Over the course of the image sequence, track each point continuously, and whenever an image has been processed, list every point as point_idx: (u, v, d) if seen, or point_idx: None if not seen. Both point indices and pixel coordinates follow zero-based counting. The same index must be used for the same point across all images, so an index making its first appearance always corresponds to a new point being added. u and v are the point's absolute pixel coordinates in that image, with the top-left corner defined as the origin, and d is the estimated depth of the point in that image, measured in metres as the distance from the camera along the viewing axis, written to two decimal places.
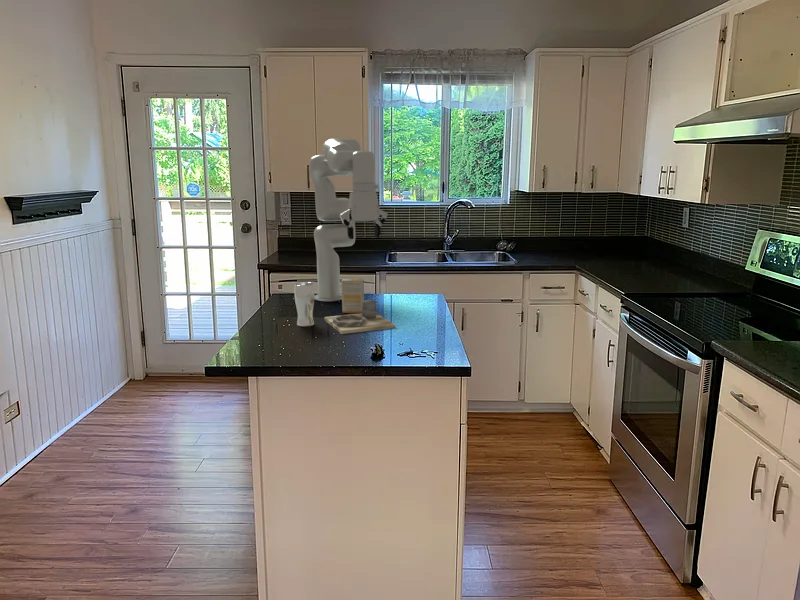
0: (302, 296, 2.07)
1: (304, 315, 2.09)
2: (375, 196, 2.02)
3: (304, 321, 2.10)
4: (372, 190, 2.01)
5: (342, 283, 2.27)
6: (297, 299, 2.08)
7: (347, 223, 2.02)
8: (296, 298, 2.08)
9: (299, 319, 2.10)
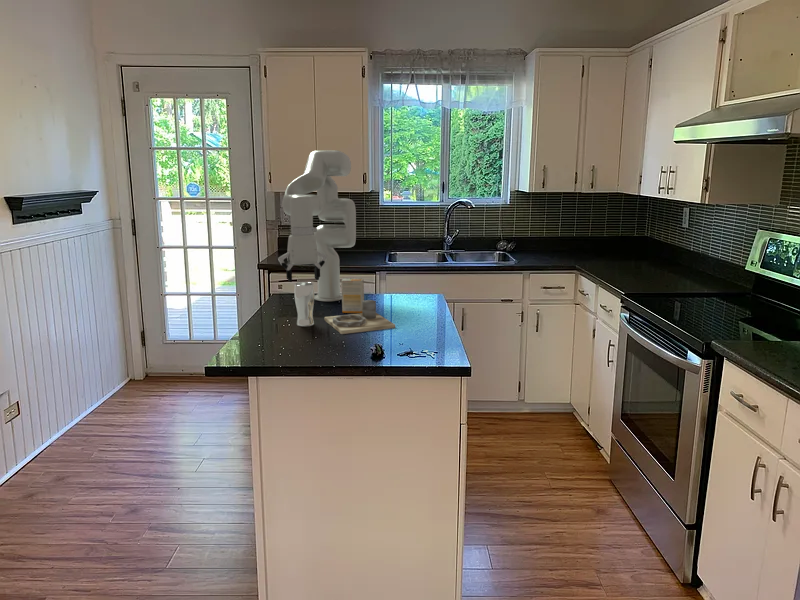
0: (302, 296, 2.07)
1: (304, 315, 2.09)
2: (313, 239, 2.05)
3: (304, 321, 2.10)
4: (310, 234, 2.03)
5: (342, 283, 2.27)
6: (297, 299, 2.08)
7: (285, 266, 2.04)
8: (296, 298, 2.08)
9: (299, 319, 2.10)
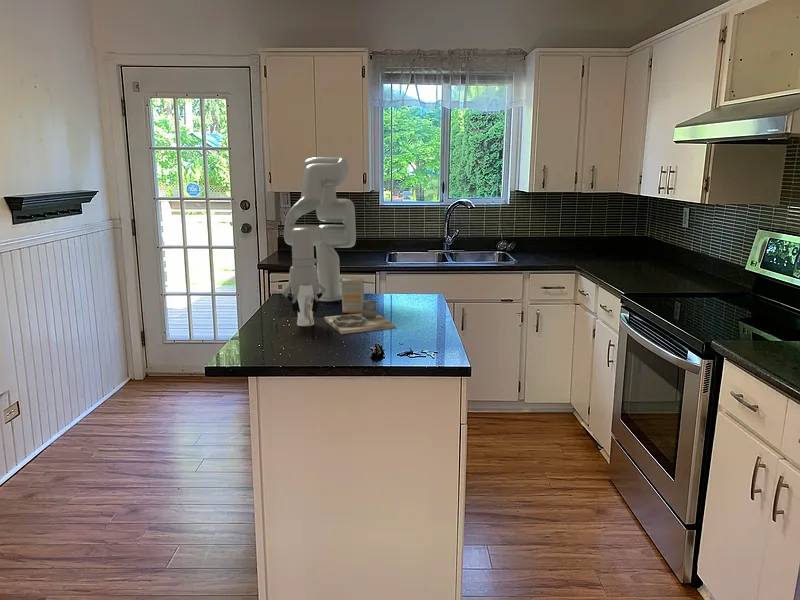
0: (302, 296, 2.07)
1: (304, 315, 2.09)
2: (314, 270, 2.08)
3: (304, 321, 2.10)
4: (311, 265, 2.06)
5: (342, 283, 2.27)
6: (297, 299, 2.08)
7: (291, 299, 2.08)
8: None
9: (299, 319, 2.10)
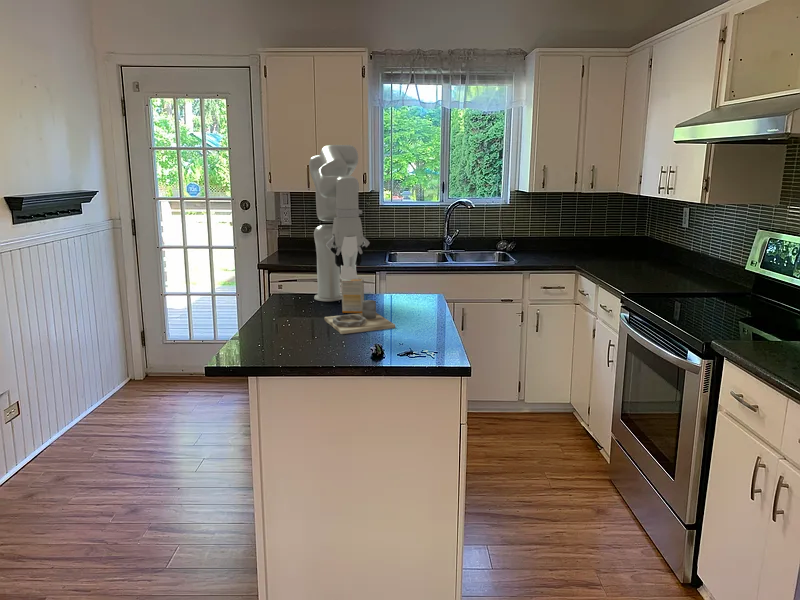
0: (346, 248, 2.01)
1: (347, 268, 2.04)
2: (359, 222, 2.02)
3: (348, 274, 2.04)
4: (356, 216, 2.00)
5: (342, 283, 2.27)
6: (341, 251, 2.02)
7: (334, 251, 2.02)
8: None
9: (343, 272, 2.05)
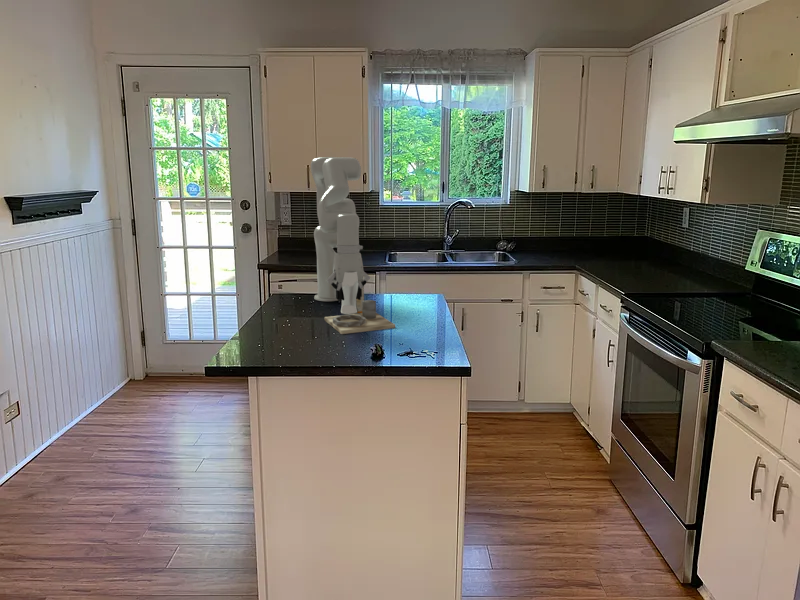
0: (347, 283, 2.04)
1: (348, 302, 2.06)
2: (359, 257, 2.05)
3: (348, 309, 2.07)
4: (356, 252, 2.03)
5: None
6: (342, 286, 2.05)
7: (335, 286, 2.05)
8: (341, 285, 2.05)
9: (343, 307, 2.07)
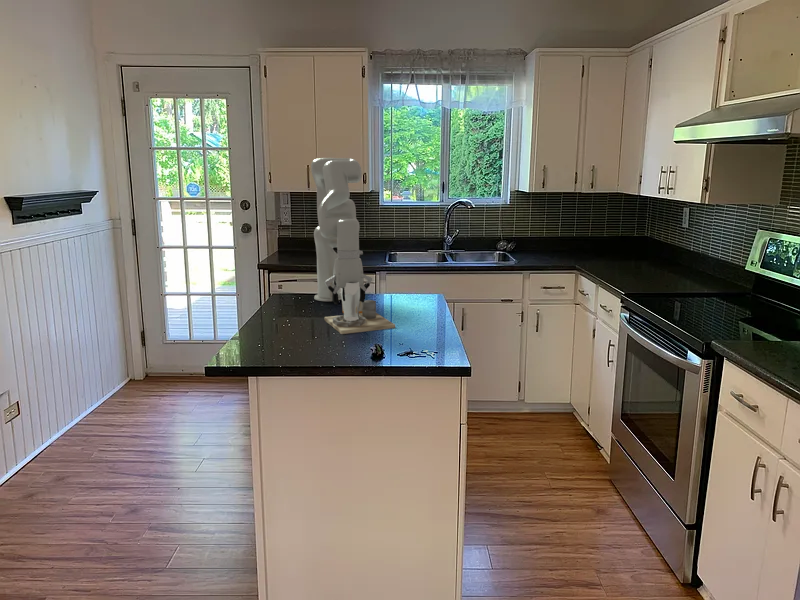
0: (349, 294, 2.05)
1: (350, 313, 2.07)
2: (359, 262, 2.05)
3: (351, 319, 2.08)
4: (356, 257, 2.03)
5: None
6: (344, 297, 2.06)
7: (332, 289, 2.05)
8: (343, 296, 2.06)
9: (345, 317, 2.08)
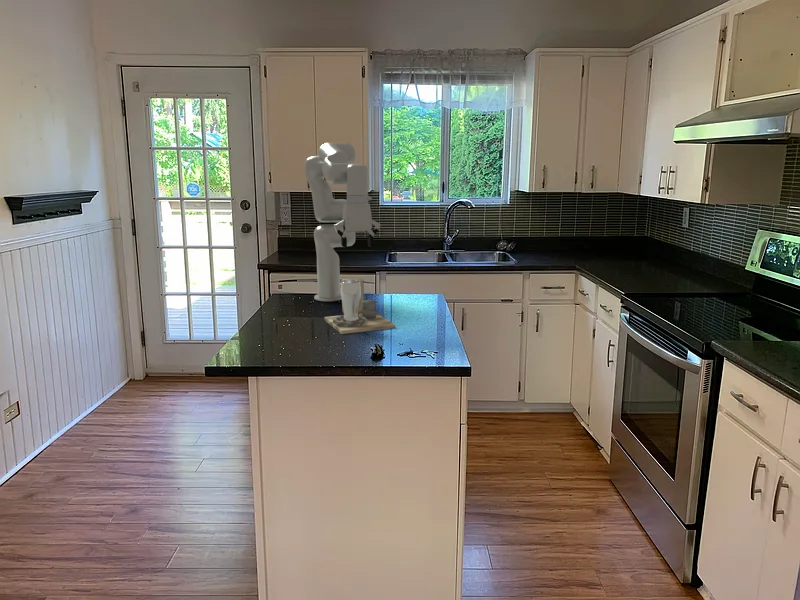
0: (349, 294, 2.05)
1: (350, 313, 2.07)
2: (368, 208, 2.10)
3: (351, 319, 2.08)
4: (365, 202, 2.08)
5: None
6: (344, 297, 2.06)
7: (341, 233, 2.10)
8: (343, 296, 2.06)
9: (345, 317, 2.08)
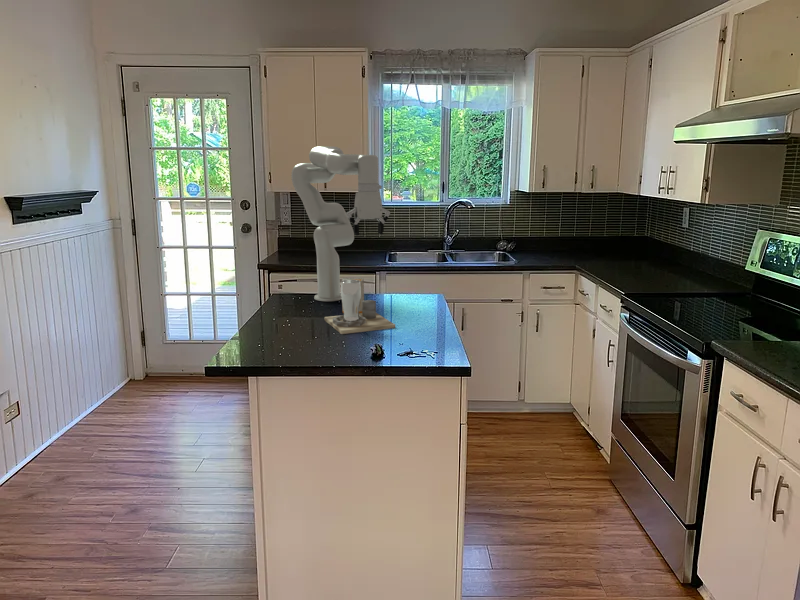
0: (349, 294, 2.05)
1: (350, 313, 2.07)
2: (379, 196, 2.21)
3: (351, 319, 2.08)
4: (376, 190, 2.19)
5: None
6: (344, 297, 2.06)
7: (353, 221, 2.20)
8: (343, 296, 2.06)
9: (345, 317, 2.08)
